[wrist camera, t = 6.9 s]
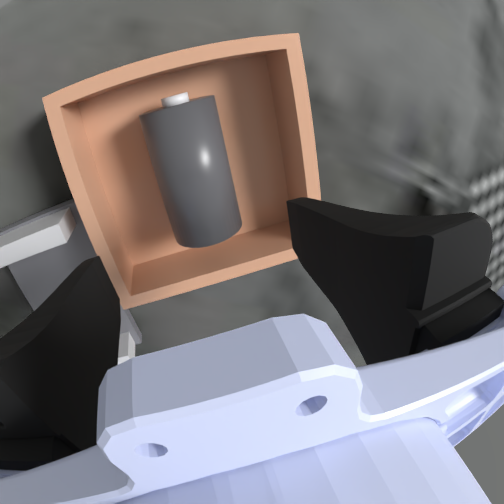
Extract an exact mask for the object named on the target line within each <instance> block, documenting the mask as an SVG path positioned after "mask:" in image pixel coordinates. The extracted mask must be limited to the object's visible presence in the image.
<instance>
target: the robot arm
mask: <svg viewBox="0 0 504 504" xmlns="http://www.w3.org/2000/svg"><path fill="white" fill-rule="evenodd" d="M286 203H287V210H288V217H289V225H290V232H291V240H292V248H293V250H294V252H295V253H296V255H297V257H298V259H299V261H300V262H301V264H302V266H303V267H304V269H305V270H306V271H307V272H308V274H309V275H310V276H311V278H312V279H313V280H314V281H315V283H316V284H317V285H318V286H319V288H320V289H321V290H322V291H323V293H324V294H325V295H326V296H327V298H328V299H329V300H330V302H331V303H332V304H333V306H334V307H335V308H336V310H337V311H338V313H339V314H340V316H341V318H342V320H343V321H344V323H345V325H346V326H347V328H348V330H349V331H350V333H351V335H352V337H353V339H354V341H355V342H356V344H357V346H358V348H359V350H360V352H361V354H362V356H363V358H364V360H365V362H366V364H367V365H365V366H360V367H355V366H354V364H353V363H352V361H351V360H350V358H349V357H348V355H347V354H346V352H345V351H344V349H343V348H342V346H341V345H340V343H339V342H338V340H337V339H336V337H335V336H334V334H333V333H332V331H331V330H330V328H329V327H328V325H327V324H326V323H325V322H323V321H320V320H318V319H315V318H313V317H310V316H308V315H305V314H298V315H290V316H282V317H274V318H269V319H266V320H263V321H260V322H257V323H254V324H251V325H247V326H244V327H241V328H238V329H234V330H231V331H228V332H225V333H221V334H218V335H214V336H211V337H208V338H204V339H201V340H197V341H194V342H190V343H186V344H183V345H179V346H176V347H172V348H168V349H164V350H161V351H157V352H153V353H149V354H145V355H141V356H137V357H133V358H131V359H129V360H127V361H125V362H123V363H121V364H119V365H118V352H119V339H120V327H121V310H120V298H119V296H118V294H117V292H116V290H115V288H114V286H113V284H112V282H111V280H110V278H109V276H108V273H107V271H106V269H105V267H104V265H103V262H102V260H101V258H100V256H96V257H93V258H90V259H87V260H85V261H83V262H82V263H81V264H80V265H78V266H77V267H76V268H75V269H74V270H73V271H72V272H71V273H70V275H69V276H68V277H67V278H66V279H65V280H64V281H63V282H62V283H61V284H60V285H59V286H58V287H57V289H56V290H55V291H54V292H53V293H52V294H51V295H50V296H49V297H48V298H47V299H46V300H45V301H44V302H43V303H42V304H41V305H40V306H39V307H38V308H37V309H36V310H35V311H34V312H33V313H32V314H31V315H29V316H28V317H27V318H26V319H25V320H24V321H23V322H21V323H20V324H19V325H18V326H16V327H15V328H14V329H13V330H11V331H10V332H9V333H7V334H6V335H5V336H4V337H2V338H1V339H0V504H491V502H490V501H489V499H488V498H487V496H486V495H485V493H484V492H483V490H482V489H481V487H480V486H479V484H478V483H477V481H476V480H475V478H474V477H473V475H472V474H471V472H470V471H469V469H468V468H467V466H466V465H465V463H464V462H463V460H462V459H461V458H460V456H459V455H458V453H457V452H456V451H455V449H454V448H453V447H454V446H455V445H457V444H458V443H459V442H461V441H462V440H463V439H464V438H465V437H467V436H468V435H469V434H470V433H471V432H473V431H474V430H475V429H476V428H477V427H478V426H480V425H481V424H482V423H483V422H484V421H485V420H486V419H487V418H489V417H490V416H491V415H492V414H493V413H494V412H495V411H496V410H497V409H498V408H499V407H501V406H502V405H503V404H504V285H503V286H501V287H500V289H499V290H498V291H497V293H495V292H494V291H492V290H491V289H490V287H491V285H492V282H491V280H490V279H489V278H487V277H486V276H485V273H486V270H487V266H488V262H489V258H490V254H491V249H492V242H493V241H492V230H491V227H490V224H489V223H488V222H487V221H486V220H485V219H483V218H482V217H480V216H478V215H477V214H475V213H472V212H469V213H459V214H450V215H437V216H407V215H391V214H383V213H375V212H369V211H363V210H359V209H354V208H349V207H345V206H341V205H337V204H333V203H329V202H325V201H321V200H317V199H312V198H306V197H300V198H296V199H292V200H288V201H286Z"/></svg>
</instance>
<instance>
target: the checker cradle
mask: <svg viewBox="0 0 504 504" xmlns="http://www.w3.org/2000/svg"><path fill="white" fill-rule="evenodd" d="M96 256H97V254H96V252H95V250H94V247H93V245H92V243H91V240H90V238H89V236H88V233H87V231H86V229H85V226H84V224H83V221H82V219H81V216H80V214H79V211H78V209H77V206H76V204H75V201H74V199H71V200H68V201H66V202H63V203H61V204H58V205H56V206H53V207H51V208H48V209H46V210H43V211H41V212H38V213H36V214H34V215H31V216H29V217H27V218H24V219H22V220H20V221H17V222H15V223H13V224H11V225H8V226H6V227H4V228H2V229H0V268H1V267H4V266H6V265H8V267H9V269H10V271H11V273H12V275H13V276H14V278H15V280H16V282H17V284H18V285H19V287H20V289H21V290H22V292H23V294H24V296H25V297H26V299H27V301H28V302H29V304H30V305H31V307H32V309H33V310H34V311H35V310H36V309H37V308H38V307H39V306H40V305H41V304H42V303H43V302H44V301H45V300H46V299H47V298H48V297H49V296H50V295H51V294H52V293H53V292H54V291H55V290H56V289H57V287H58V286H59V285H60V284H61V283H62V282H63V281H64V280H65V279H66V278H67V277H68V276H69V275H70V273H71V272H72V271H73V270H74V269H75V268H76V267H77V266H78V265H80V264H81V263H82V262H83V261H85V260H87V259H90V258H93V257H96ZM120 310H121V327H120V339H119V352H118V365H119V364H121V363H123V362H125V361H127V360H129V359H131V358H133V357H135V344H139V343H142V334H141V332H140V330H139V328H138V326H137V324H136V323H135V321H134V319H133V317H132V315H131V313H130V311H129V309H125V310H123V308H122V306H121V304H120Z"/></svg>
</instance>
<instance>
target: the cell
mask: <svg viewBox="0 0 504 504" xmlns="http://www.w3.org/2000/svg"><path fill="white" fill-rule="evenodd" d="M161 102H162V106H163V107H160V108H157V109H154V110H151V111H148V112H145V113H143V114H141V115H139V120H140V123H141V127H142V131H143V134H144V138H145V142H146V145H147V149H148V152H149V156H150V159H151V163H152V166H153V169H154V173H155V176H156V179H157V183H158V186H159V189H160V193H161V196H162V199H163V202H164V205H165V208H166V212H167V215H168V218H169V221H170V224H171V227H172V230H173V233H174V236H175V239H176V242H177V243H178V244H179V245H181V246H183V247H188V248H202V247H208V246H212V245H215V244H218V243H221V242H223V241H225V240H227V239H229V238H231V237H232V236H234V235H235V234H236V233H237V232H238V231H239V230H240V228H241V227H242V219H241V215H240V210H239V206H238V201H237V196H236V192H235V187H234V183H233V178H232V174H231V169H230V165H229V160H228V155H227V151H226V146H225V142H224V137H223V132H222V128H221V123H220V119H219V114H218V109H217V105H216V100H215V96H214V95H209V96H203V97H198V98H193V99H189V97H188V93H187V92H185V93H181V94H177V95H173V96H169V97H166V98H163V99H161Z"/></svg>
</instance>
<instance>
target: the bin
mask: <svg viewBox="0 0 504 504" xmlns="http://www.w3.org/2000/svg"><path fill="white" fill-rule="evenodd" d="M185 92H187V93H188V97H189V99H193V98H198V97H203V96H209V95H214V96H215V100H216V105H217V109H218V114H219V119H220V123H221V128H222V132H223V137H224V142H225V146H226V151H227V155H228V160H229V165H230V169H231V174H232V178H233V183H234V187H235V192H236V196H237V201H238V206H239V210H240V215H241V219H242V227H241V228H240V230H239V231H238V232H237V233H236V234H235V235H234V236H232V237H231V238H229V239H227V240H225V241H223V242H221V243H218V244H215V245H212V246H208V247H202V248H188V247H183V246H181V245H179V244H178V243H177V242H176V239H175V236H174V233H173V230H172V227H171V224H170V221H169V218H168V215H167V212H166V208H165V205H164V202H163V199H162V196H161V193H160V189H159V186H158V183H157V179H156V176H155V173H154V169H153V166H152V163H151V159H150V156H149V152H148V149H147V145H146V142H145V138H144V134H143V131H142V127H141V123H140V120H139V115H141V114H143V113H145V112H148V111H151V110H154V109H157V108H160V107H163V106H162V102H161V99H163V98H166V97H169V96H173V95H177V94H181V93H185ZM42 99H43V103H44V107H45V111H46V115H47V118H48V122H49V126H50V129H51V133H52V136H53V139H54V143H55V146H56V149H57V152H58V155H59V159H60V162H61V165H62V168H63V171H64V173H65V176H66V179H67V182H68V185H69V188H70V190H71V193H72V196H73V198H74V201H75V204H76V206H77V209H78V211H79V214H80V216H81V219H82V221H83V224H84V226H85V229H86V231H87V233H88V236H89V238H90V240H91V243H92V245H93V247H94V250H95V252H96V254H97V256H100V258H101V260H102V262H103V265H104V267H105V269H106V271H107V273H108V276H109V278H110V280H111V282H112V284H113V286H114V288H115V290H116V292H117V294H118V296H119V298H120V304H121V306H122V308H123V310H125V309H129V308H132V307H136V306H139V305H143V304H146V303H150V302H153V301H157V300H160V299H164V298H167V297H171V296H174V295H177V294H181V293H184V292H188V291H191V290H195V289H198V288H201V287H205V286H208V285H212V284H215V283H218V282H222V281H225V280H228V279H232V278H235V277H238V276H242V275H245V274H248V273H252V272H255V271H258V270H262V269H265V268H268V267H271V266H275V265H278V264H281V263H285V262H288V261H291V260H294V259H297V258H298V257H297V255H296V253H295V252H294V250H293V248H292V240H291V232H290V225H289V217H288V210H287V203H286V201H288V200H292V199H296V198H300V197H306V198H312V199H317V200H321V194H320V184H319V173H318V164H317V155H316V146H315V138H314V130H313V122H312V114H311V107H310V100H309V93H308V86H307V80H306V73H305V67H304V61H303V55H302V49H301V44H300V38H299V33H292V34H280V35H269V36H260V37H252V38H244V39H237V40H231V41H224V42H219V43H213V44H208V45H203V46H198V47H193V48H188V49H184V50H179V51H175V52H171V53H167V54H163V55H159V56H156V57H152V58H148V59H145V60H141V61H138V62H135V63H131V64H128V65H125V66H122V67H119V68H116V69H113V70H110V71H107V72H104V73H101V74H99V75H96V76H93V77H91V78H88V79H85V80H83V81H80V82H78V83H75V84H73V85H70V86H68V87H66V88H63V89H61V90H59V91H56V92H54V93H52V94H50V95H48V96H45V97H43V98H42Z"/></svg>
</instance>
